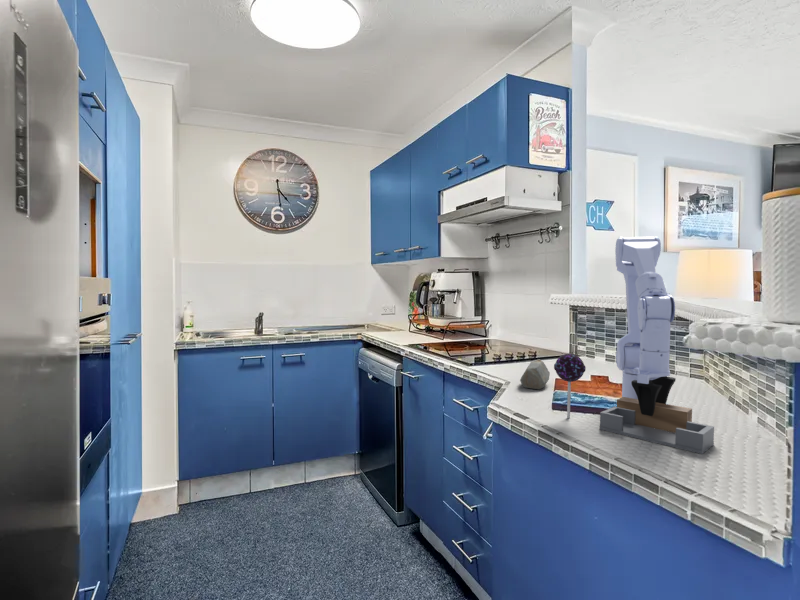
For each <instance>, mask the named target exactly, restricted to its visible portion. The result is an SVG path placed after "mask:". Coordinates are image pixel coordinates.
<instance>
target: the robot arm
mask: <svg viewBox="0 0 800 600" xmlns="http://www.w3.org/2000/svg"><path fill="white" fill-rule="evenodd" d="M661 246H662V243H661V240H660V238H659V237H658V236H656V235H655V236H630V237H629V236H627V237H626V236H624V237H623V236H618V238H617V239H616V242H615V248H614V249H615V250H614V251H615V267H616V271H618V272H619V273H622V274H623V278H624V281H625V297H626V299H625V301H626V317H627V318H626V319H627V334H625V335H624V336H622V337H621V338H619V339H618V340H617V343H616V353H615V359H616V360H615V364H616V367H617V369H618V370H619V371H622V376H621V378H622V379H621V380H622V382H621V383H622V384H621V398H622V397H627V398H633V399H638V401H639V406H640V410H641V414H643V415H648V416H653V413H654V409H655V403H662V404H667V403H668V397H669V394H670V391H671V390H672V389H671V388H673V386H674V384H675V382H676V377H672V376H671V371H670V355H671V353H670V351H671V323H672V322H673V321H674V320H675V315H676V303H675V298H674V296H673V295H671V294H670V293H668V292H667V289H666V285H665V281H664V278H663V277H662V275H661V274H659V273H658V272H656V267H657V265H658V261H659V258H660V256H661V250H662V249H661V248H662V247H661Z"/></svg>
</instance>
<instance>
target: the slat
mask: <svg viewBox="0 0 800 600" xmlns="http://www.w3.org/2000/svg"><path fill="white" fill-rule="evenodd" d="M616 404H617V407H619V408H624V409H629V410H634V411H636V416H635V424H637V425H641V426H646V427H650V428H655V429H659V430H664V431H669V432H673V433H676V428H681V429H686V423H687V421H689V422H693V408H691V407H685V406H679V405H673V404H667V403H666V404H662V403H655V409H654V413H653V416H648V415H643V414H641V410H640V406H639V401H638V399H633V398H627V397H622V396H621V397H620V398H617V399H616Z"/></svg>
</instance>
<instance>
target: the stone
mask: <svg viewBox="0 0 800 600" xmlns="http://www.w3.org/2000/svg"><path fill="white" fill-rule="evenodd" d="M549 380H550V371H549V369H548V367H547V365H546V364H545V362H544V361H542V360H541V359H539V358H538V359H534V360H532V361H530V363H528V366H527V368H526V369H525V371H524V372H523V374H522V376H521V377H520V379H519V381H520V383H521V385H522V387H524V388H526V389H533V390H542V389H544V387H545V386H546V385H547V383H548V382H549Z"/></svg>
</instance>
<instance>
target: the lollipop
mask: <svg viewBox="0 0 800 600" xmlns="http://www.w3.org/2000/svg"><path fill="white" fill-rule="evenodd" d="M586 368H587V367H586V365H585V364H584V361H583V359H582V358H580V356H578V355H577V354H574V353H564V354H562V355H560V356H559V357H558V358H557V359H556V361H555V363H554V365H553V369H554V371H555V373H556V375H557V376H558V378H559V379H561V380H562V381H564V382H567V398H566V399H567V402H566V403H567V404H566V405H567V407H566V409H567V410H566V412H567V413H566V418H567V419H570V418H571V389H572V382H575V381H578V380H579V379H580V380H581V378H582V377H583V375H584V373H585V372H586Z"/></svg>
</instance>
